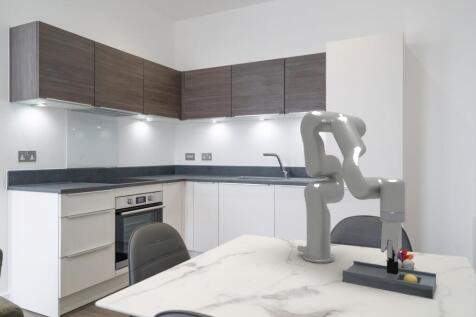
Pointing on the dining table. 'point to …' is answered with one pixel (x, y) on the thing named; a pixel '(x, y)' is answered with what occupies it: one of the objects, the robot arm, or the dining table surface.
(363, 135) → the robot arm
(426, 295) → the tray
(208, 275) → the dining table surface
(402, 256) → the rainbow white-lobed toy
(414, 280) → the ball
